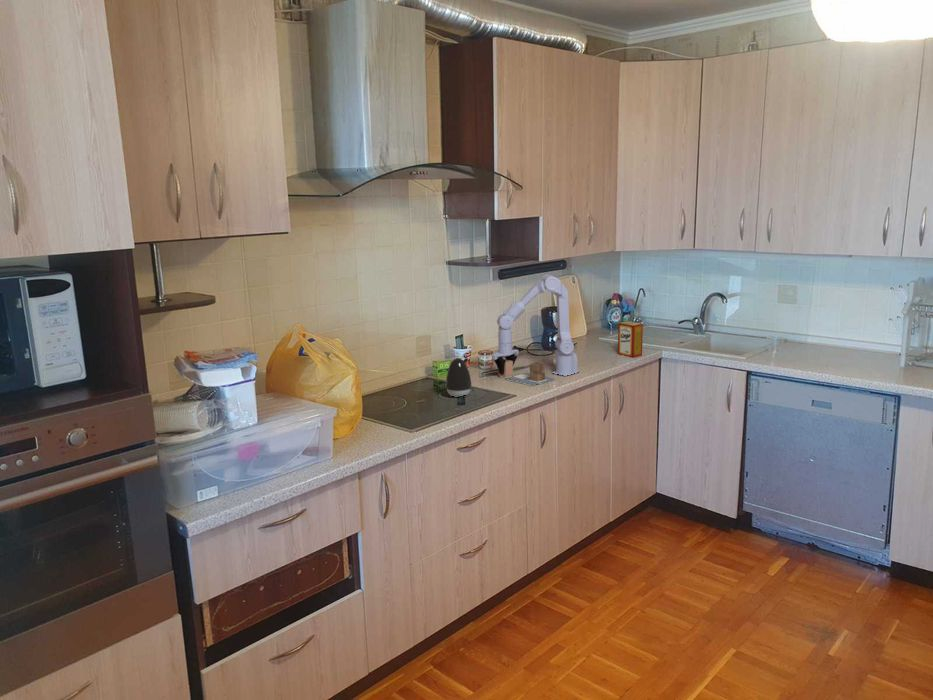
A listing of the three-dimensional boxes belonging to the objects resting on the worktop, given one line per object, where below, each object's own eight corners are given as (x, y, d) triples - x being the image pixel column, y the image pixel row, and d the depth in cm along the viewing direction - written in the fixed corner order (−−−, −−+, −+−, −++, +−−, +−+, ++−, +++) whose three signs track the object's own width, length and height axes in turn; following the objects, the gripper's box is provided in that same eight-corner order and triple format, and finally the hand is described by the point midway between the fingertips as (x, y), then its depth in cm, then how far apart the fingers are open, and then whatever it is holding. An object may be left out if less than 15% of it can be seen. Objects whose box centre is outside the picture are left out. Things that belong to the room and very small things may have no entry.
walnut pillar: (536, 378, 302) (536, 362, 300) (544, 379, 298) (544, 363, 297) (529, 380, 299) (529, 363, 297) (537, 381, 295) (537, 365, 294)
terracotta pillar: (505, 374, 311) (505, 359, 310) (512, 376, 308) (512, 360, 306) (498, 376, 308) (498, 361, 307) (505, 378, 305) (505, 362, 303)
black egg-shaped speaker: (477, 395, 280) (476, 357, 277) (458, 401, 273) (457, 362, 270) (459, 390, 287) (458, 354, 284) (440, 396, 280) (439, 358, 277)
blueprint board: (527, 373, 312) (527, 372, 312) (554, 379, 300) (554, 378, 300) (504, 379, 303) (504, 378, 303) (532, 386, 291) (532, 384, 291)
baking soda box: (641, 355, 341) (642, 323, 337) (632, 357, 337) (633, 324, 334) (627, 352, 348) (627, 320, 345) (617, 354, 345) (618, 322, 341)
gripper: (510, 338, 312) (510, 368, 315) (486, 343, 303) (487, 374, 306) (521, 340, 307) (522, 371, 310) (498, 346, 298) (498, 377, 301)
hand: (505, 372), depth 308 cm, fingers closed on terracotta pillar, 4 cm apart
